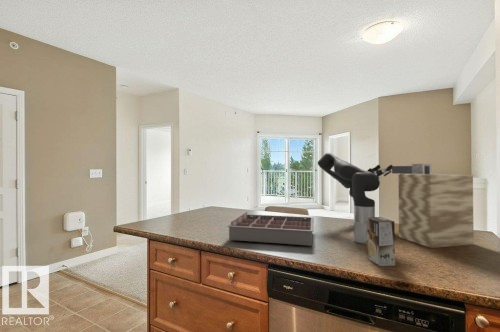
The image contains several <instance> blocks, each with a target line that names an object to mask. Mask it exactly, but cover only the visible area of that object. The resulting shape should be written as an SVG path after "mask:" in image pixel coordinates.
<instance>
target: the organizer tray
mask: <svg viewBox="0 0 500 332" xmlns="http://www.w3.org/2000/svg"><path fill="white" fill-rule="evenodd" d="M314 218H315V217H313V216H293V215H292V216H290V215H289V216H288V215H266V214H248V211H246V212H244V213H242V214H241V215H239V216H238V217H236V218H234V219H233V220H232V221H230V224H228V226H226V227H227V228H228V239H229V240H230V241H241V242H242V241H244V242H257V243H268V244H271V243H272V244H283V245H295V246H296V245H298V246H299V245H300V246H312V244H313V239H312V238H313V232H314Z"/></svg>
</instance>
